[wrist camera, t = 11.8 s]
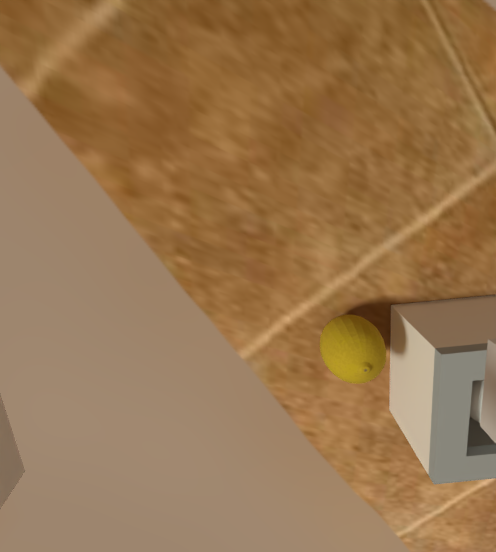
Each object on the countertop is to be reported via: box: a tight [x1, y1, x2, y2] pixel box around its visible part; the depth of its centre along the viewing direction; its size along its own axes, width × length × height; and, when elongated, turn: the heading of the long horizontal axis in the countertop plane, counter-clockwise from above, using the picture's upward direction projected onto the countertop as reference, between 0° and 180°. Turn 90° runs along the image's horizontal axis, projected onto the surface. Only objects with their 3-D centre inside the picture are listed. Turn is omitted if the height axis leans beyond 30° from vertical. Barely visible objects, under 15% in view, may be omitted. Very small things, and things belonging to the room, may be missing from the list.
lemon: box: [320, 315, 386, 384], centre depth 36 cm, size 6×6×8 cm
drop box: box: [389, 295, 496, 484], centre depth 36 cm, size 12×12×10 cm
